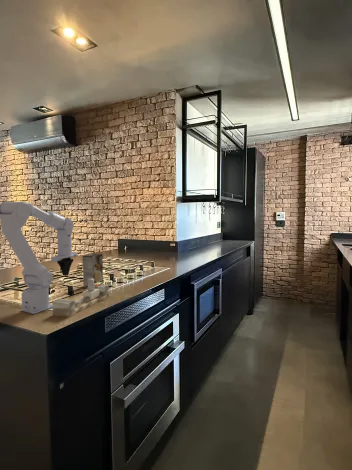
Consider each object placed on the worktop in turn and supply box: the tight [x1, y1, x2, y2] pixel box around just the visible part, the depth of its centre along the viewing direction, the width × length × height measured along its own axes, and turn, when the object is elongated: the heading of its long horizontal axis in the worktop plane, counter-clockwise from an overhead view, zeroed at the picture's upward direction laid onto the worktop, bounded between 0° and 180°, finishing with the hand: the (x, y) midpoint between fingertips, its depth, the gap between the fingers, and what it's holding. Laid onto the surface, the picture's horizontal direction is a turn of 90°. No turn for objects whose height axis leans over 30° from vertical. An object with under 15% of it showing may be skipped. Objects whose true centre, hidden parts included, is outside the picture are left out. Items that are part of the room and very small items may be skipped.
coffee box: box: [81, 253, 104, 287], centre depth 155 cm, size 9×6×16 cm
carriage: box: [82, 279, 100, 300], centre depth 128 cm, size 6×4×8 cm
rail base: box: [51, 283, 110, 318], centre depth 123 cm, size 28×7×5 cm, turn 161°
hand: (65, 275), depth 131 cm, fingers closed
